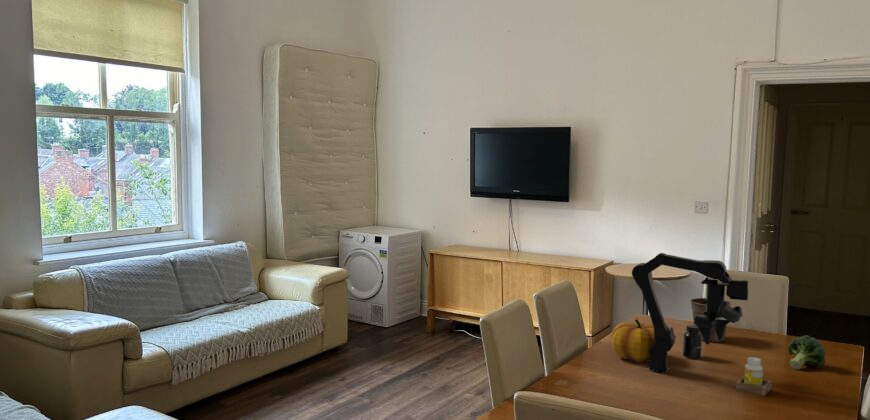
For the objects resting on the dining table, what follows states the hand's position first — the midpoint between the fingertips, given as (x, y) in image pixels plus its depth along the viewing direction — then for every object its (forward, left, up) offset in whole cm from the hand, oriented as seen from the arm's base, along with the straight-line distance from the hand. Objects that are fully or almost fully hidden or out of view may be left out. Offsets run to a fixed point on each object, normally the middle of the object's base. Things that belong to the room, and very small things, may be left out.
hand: (713, 341), depth 230 cm
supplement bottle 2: (-1, -14, -12) cm, 19 cm away
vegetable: (+39, -17, -13) cm, 45 cm away
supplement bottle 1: (+19, +17, -13) cm, 29 cm away
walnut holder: (-1, -14, -13) cm, 20 cm away
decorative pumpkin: (+2, +30, -13) cm, 33 cm away
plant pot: (+50, +25, -13) cm, 57 cm away
